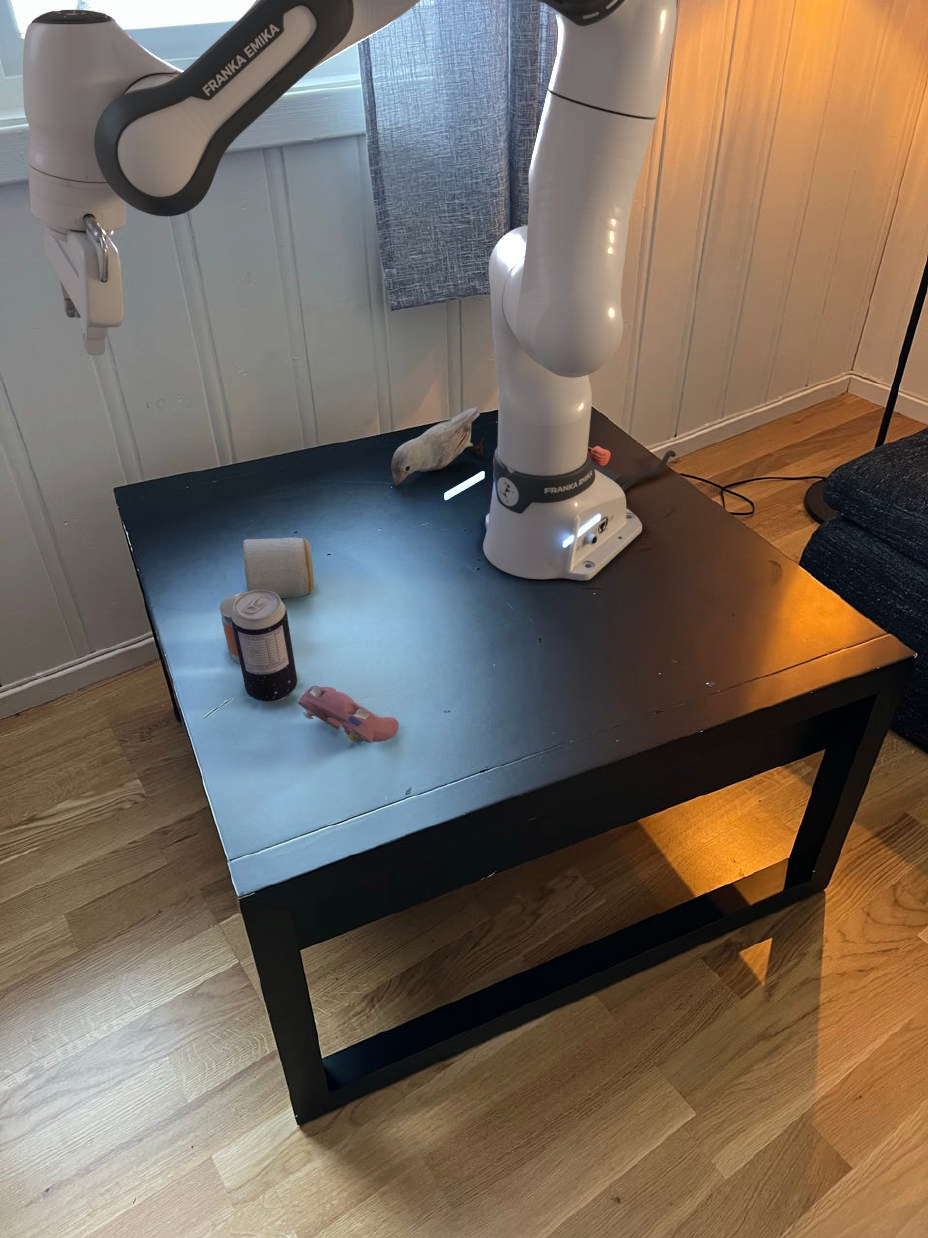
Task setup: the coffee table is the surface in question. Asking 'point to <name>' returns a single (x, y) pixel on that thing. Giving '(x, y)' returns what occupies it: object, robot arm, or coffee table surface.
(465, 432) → the decorative bird
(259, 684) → the beverage can
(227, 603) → the food tin
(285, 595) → the ceramic mug
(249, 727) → the coffee table surface
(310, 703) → the red toy car
